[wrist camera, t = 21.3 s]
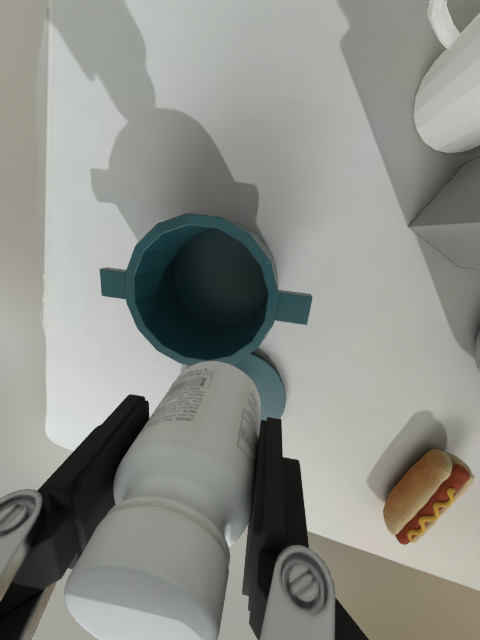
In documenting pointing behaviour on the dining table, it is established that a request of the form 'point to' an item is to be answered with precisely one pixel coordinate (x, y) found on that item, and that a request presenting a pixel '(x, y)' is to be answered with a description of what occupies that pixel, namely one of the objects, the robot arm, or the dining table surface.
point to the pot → (204, 289)
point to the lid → (264, 385)
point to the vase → (477, 350)
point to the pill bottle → (174, 514)
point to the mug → (451, 86)
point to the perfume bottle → (455, 218)
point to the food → (425, 494)
